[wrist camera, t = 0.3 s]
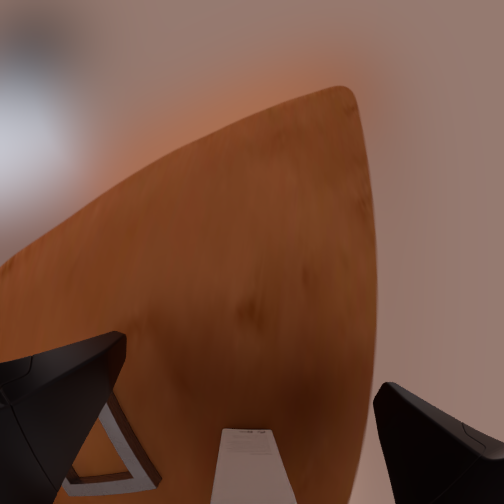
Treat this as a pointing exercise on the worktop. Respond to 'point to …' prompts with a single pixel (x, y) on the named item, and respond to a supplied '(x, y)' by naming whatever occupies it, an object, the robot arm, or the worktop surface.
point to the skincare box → (250, 470)
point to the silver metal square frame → (129, 451)
